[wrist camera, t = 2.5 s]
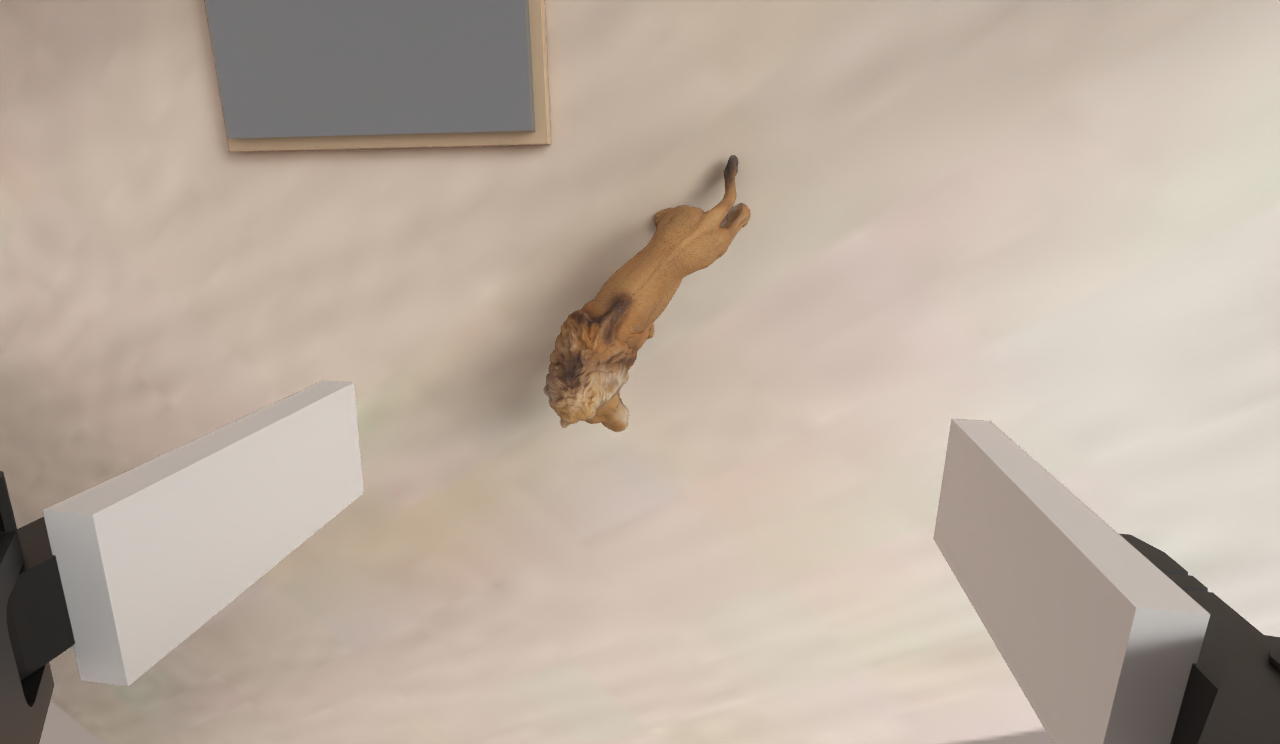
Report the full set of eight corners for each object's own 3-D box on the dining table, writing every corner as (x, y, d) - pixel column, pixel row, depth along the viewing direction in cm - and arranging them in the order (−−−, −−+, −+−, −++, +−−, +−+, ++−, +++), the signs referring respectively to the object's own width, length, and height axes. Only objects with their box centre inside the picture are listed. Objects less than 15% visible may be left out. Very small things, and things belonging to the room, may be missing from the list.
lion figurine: (633, 405, 32) (604, 466, 25) (556, 357, 32) (505, 405, 25) (775, 181, 29) (787, 181, 22) (688, 127, 29) (672, 109, 22)
